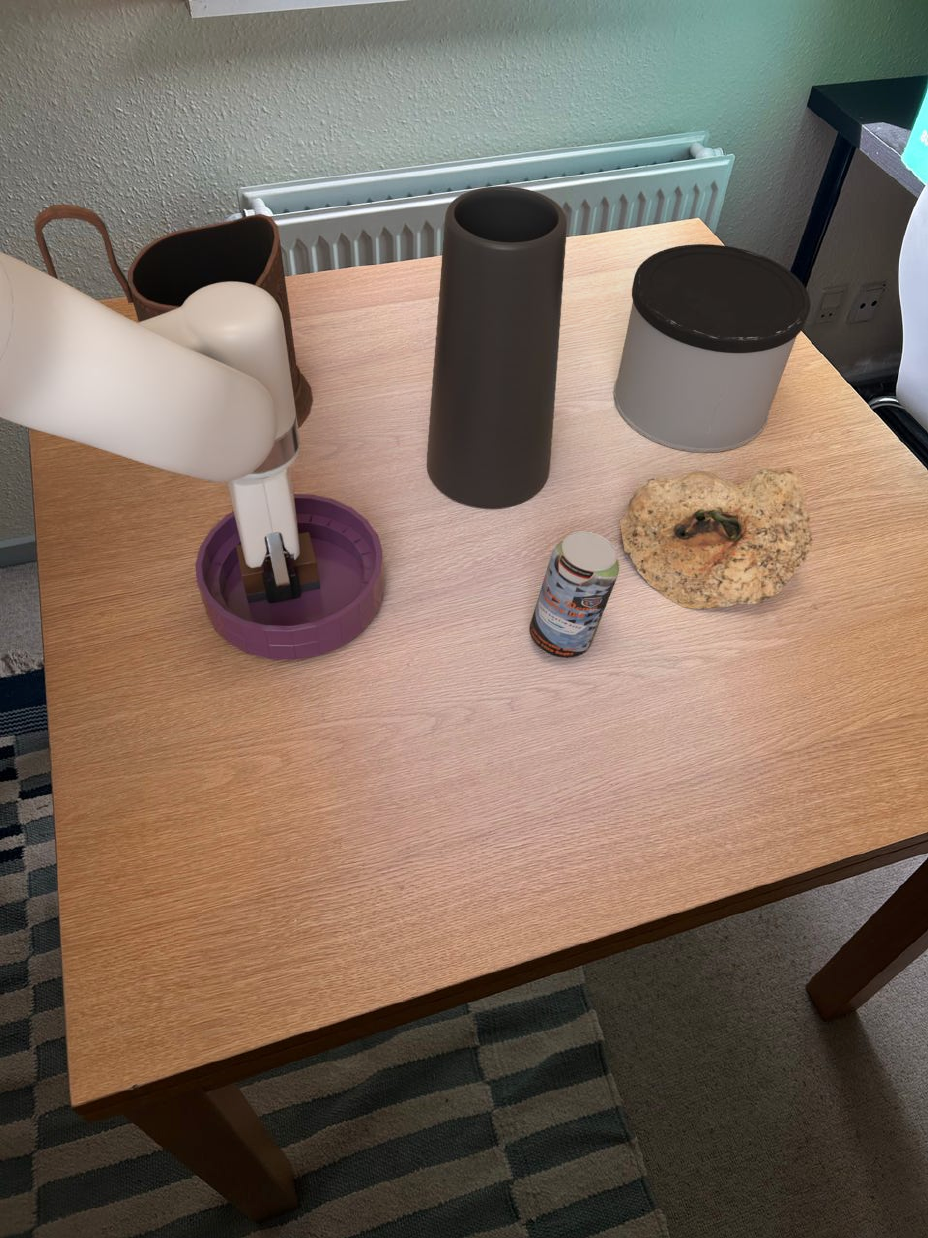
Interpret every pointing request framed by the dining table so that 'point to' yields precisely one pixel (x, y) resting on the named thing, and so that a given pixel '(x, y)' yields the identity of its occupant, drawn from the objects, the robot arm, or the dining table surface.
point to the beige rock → (718, 536)
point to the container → (707, 345)
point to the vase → (496, 346)
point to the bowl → (317, 614)
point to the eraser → (303, 563)
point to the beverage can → (574, 594)
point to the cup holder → (198, 270)
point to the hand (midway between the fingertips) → (279, 579)
